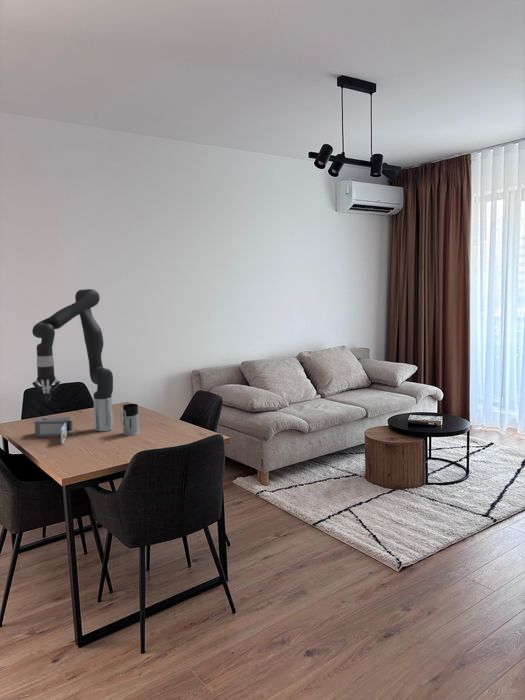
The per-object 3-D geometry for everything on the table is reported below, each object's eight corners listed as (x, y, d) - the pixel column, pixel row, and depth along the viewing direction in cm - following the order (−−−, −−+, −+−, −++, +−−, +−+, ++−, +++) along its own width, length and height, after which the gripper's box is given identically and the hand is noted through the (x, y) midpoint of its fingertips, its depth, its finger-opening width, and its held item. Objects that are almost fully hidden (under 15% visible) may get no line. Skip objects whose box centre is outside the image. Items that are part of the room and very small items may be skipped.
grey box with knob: (73, 431, 289) (73, 415, 288) (68, 436, 279) (68, 419, 278) (41, 432, 287) (40, 416, 287) (35, 437, 277) (34, 420, 277)
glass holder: (142, 432, 288) (142, 403, 286) (129, 438, 274) (128, 409, 273) (127, 431, 290) (127, 403, 288) (113, 437, 276) (112, 408, 275)
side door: (65, 435, 279) (64, 422, 278) (69, 435, 279) (68, 422, 278) (61, 443, 263) (60, 429, 263) (65, 443, 264) (64, 429, 263)
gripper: (28, 366, 257) (30, 402, 259) (57, 365, 259) (59, 401, 260) (33, 364, 265) (35, 399, 266) (61, 363, 266) (63, 398, 268)
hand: (47, 400), depth 263 cm, fingers closed
